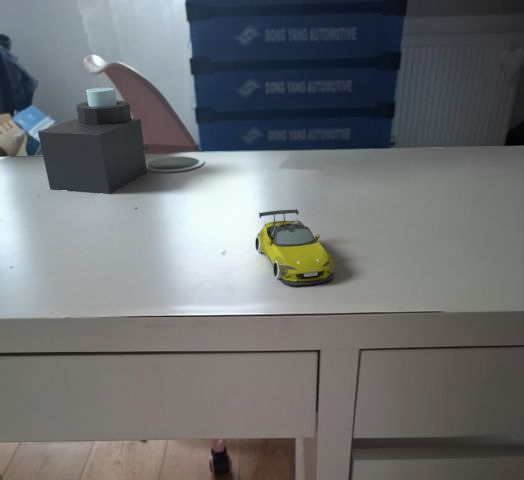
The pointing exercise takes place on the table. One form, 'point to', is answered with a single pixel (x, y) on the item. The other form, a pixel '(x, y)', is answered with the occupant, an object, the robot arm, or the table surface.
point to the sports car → (294, 251)
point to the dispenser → (94, 150)
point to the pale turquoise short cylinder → (101, 97)
